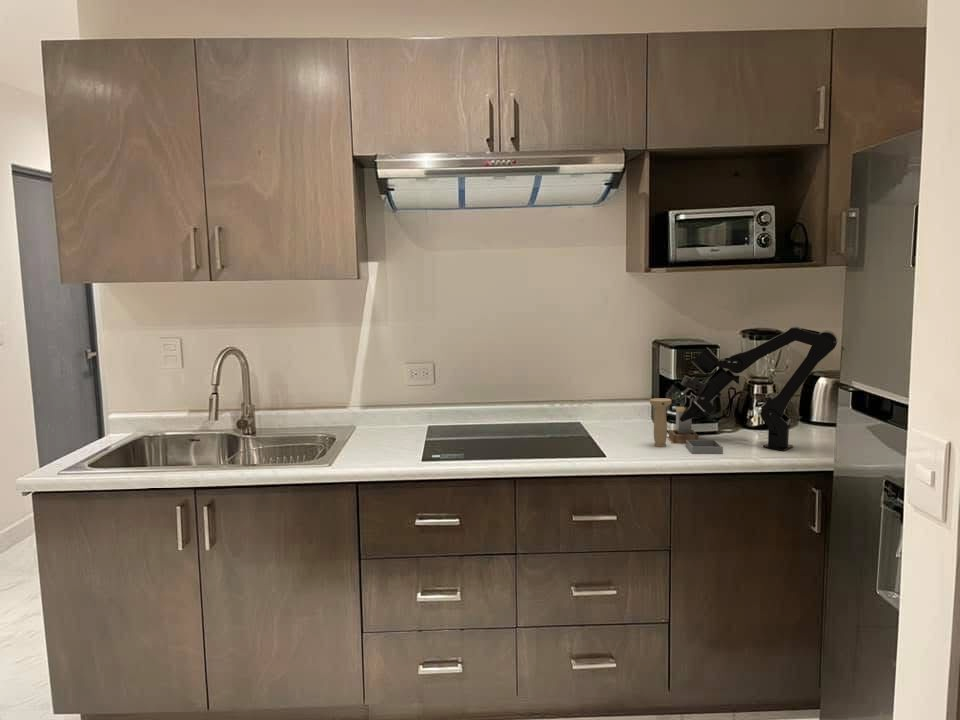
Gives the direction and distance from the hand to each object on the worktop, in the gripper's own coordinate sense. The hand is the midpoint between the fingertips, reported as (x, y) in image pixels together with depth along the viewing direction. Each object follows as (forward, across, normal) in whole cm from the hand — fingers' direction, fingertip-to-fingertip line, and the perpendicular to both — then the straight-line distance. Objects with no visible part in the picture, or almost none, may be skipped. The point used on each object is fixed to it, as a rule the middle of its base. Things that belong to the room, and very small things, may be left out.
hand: (679, 419), depth 213 cm
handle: (+10, +7, 0) cm, 13 cm away
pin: (+4, 0, +5) cm, 6 cm away
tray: (+2, +12, +9) cm, 15 cm away
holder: (+4, 0, +6) cm, 7 cm away
